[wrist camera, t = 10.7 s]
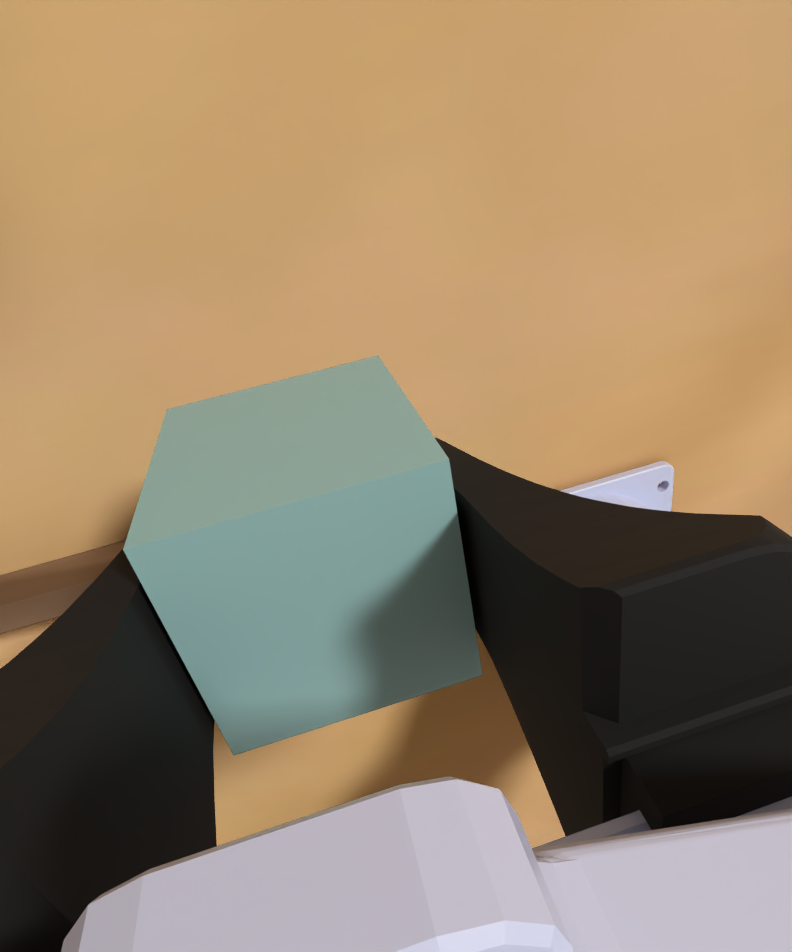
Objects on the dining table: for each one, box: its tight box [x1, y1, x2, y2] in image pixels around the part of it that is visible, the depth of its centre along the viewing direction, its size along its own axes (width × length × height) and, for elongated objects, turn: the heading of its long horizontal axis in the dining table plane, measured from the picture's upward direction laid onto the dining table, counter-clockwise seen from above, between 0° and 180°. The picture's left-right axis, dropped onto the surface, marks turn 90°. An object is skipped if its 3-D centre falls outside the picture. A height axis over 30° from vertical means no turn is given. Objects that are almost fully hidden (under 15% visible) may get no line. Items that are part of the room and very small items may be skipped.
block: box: [123, 356, 482, 755], centre depth 11 cm, size 4×4×5 cm
